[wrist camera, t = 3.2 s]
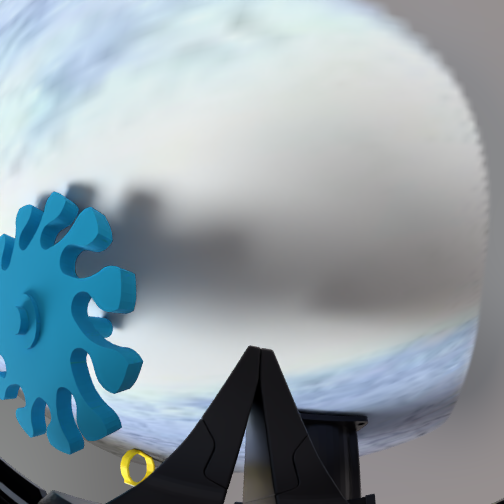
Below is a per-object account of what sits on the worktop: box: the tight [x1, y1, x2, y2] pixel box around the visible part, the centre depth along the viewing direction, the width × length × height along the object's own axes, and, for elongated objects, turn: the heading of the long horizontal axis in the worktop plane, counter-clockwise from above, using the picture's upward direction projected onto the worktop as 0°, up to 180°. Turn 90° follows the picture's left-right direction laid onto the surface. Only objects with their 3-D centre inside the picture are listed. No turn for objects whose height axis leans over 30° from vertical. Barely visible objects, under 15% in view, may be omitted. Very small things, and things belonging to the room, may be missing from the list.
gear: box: [0, 192, 143, 454], centre depth 9 cm, size 11×6×10 cm
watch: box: [120, 449, 155, 486], centre depth 26 cm, size 6×3×6 cm, turn 19°
